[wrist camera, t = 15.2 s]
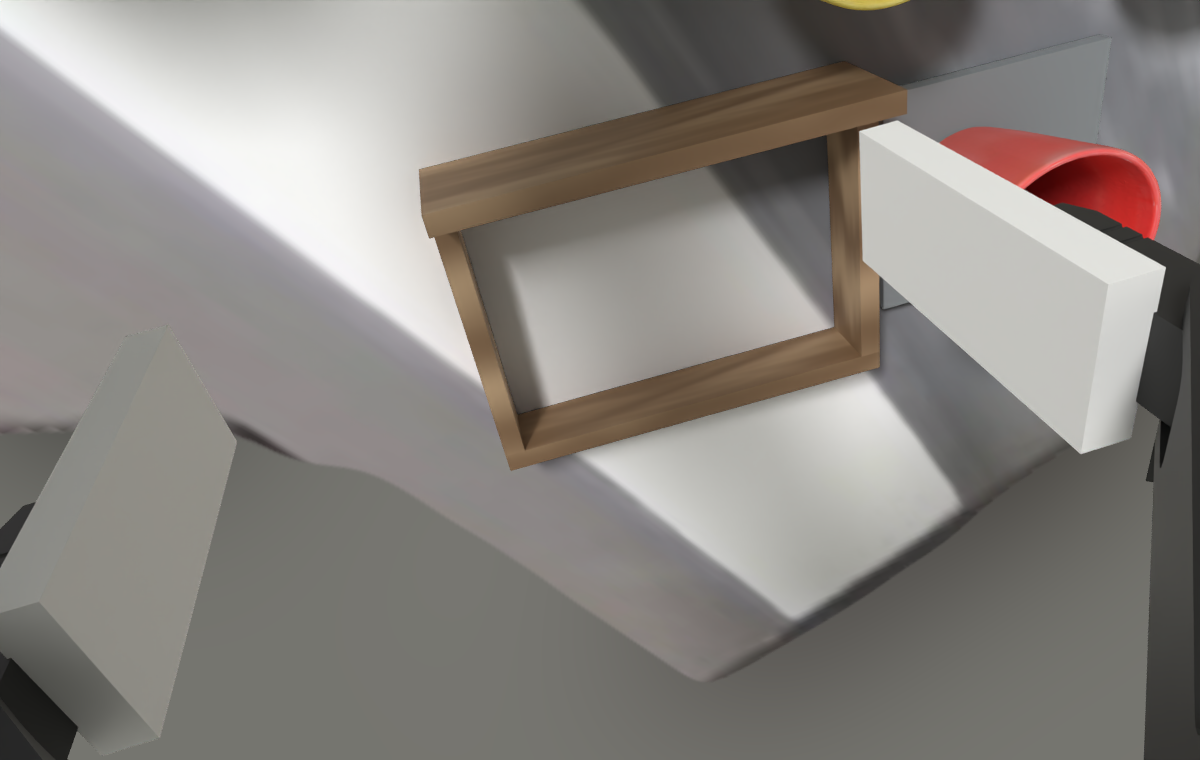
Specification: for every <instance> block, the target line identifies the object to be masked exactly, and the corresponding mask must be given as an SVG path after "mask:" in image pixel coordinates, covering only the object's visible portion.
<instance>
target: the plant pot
mask: <svg viewBox="0 0 1200 760" xmlns="http://www.w3.org/2000/svg"><path fill="white" fill-rule="evenodd" d="M821 1H824V2H827V3H829V4H832V5H835V6H838V7H842V8H846V9H853V10H878V9H884V8H889V7H893V6H896V5H899V4H902V3H905V2H908V1H910V0H821Z"/></svg>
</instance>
